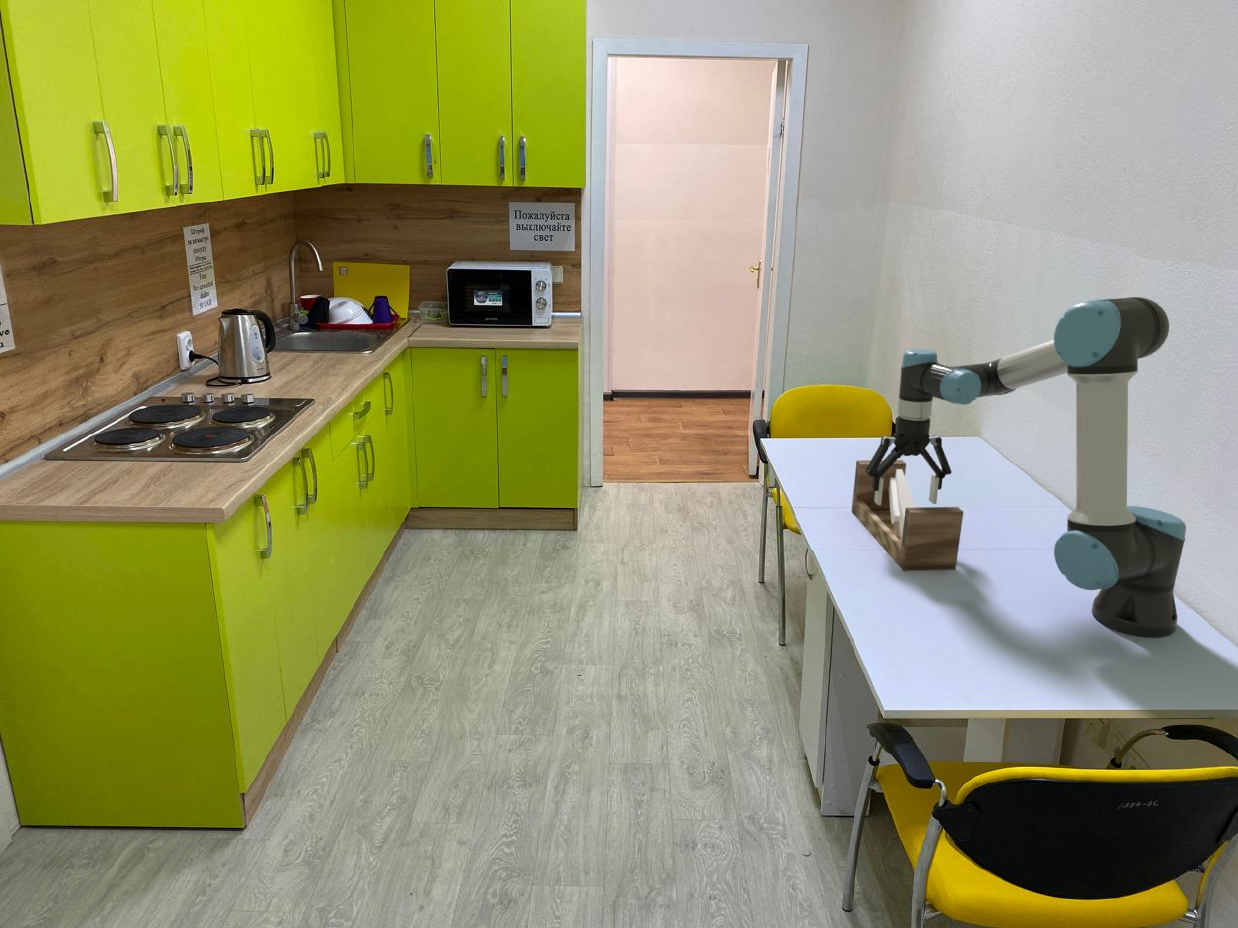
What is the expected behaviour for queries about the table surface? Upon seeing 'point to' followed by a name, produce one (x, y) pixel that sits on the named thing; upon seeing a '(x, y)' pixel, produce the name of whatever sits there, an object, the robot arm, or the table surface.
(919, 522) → the cradle
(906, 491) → the shelf bracket
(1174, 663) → the table surface
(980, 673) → the table surface
